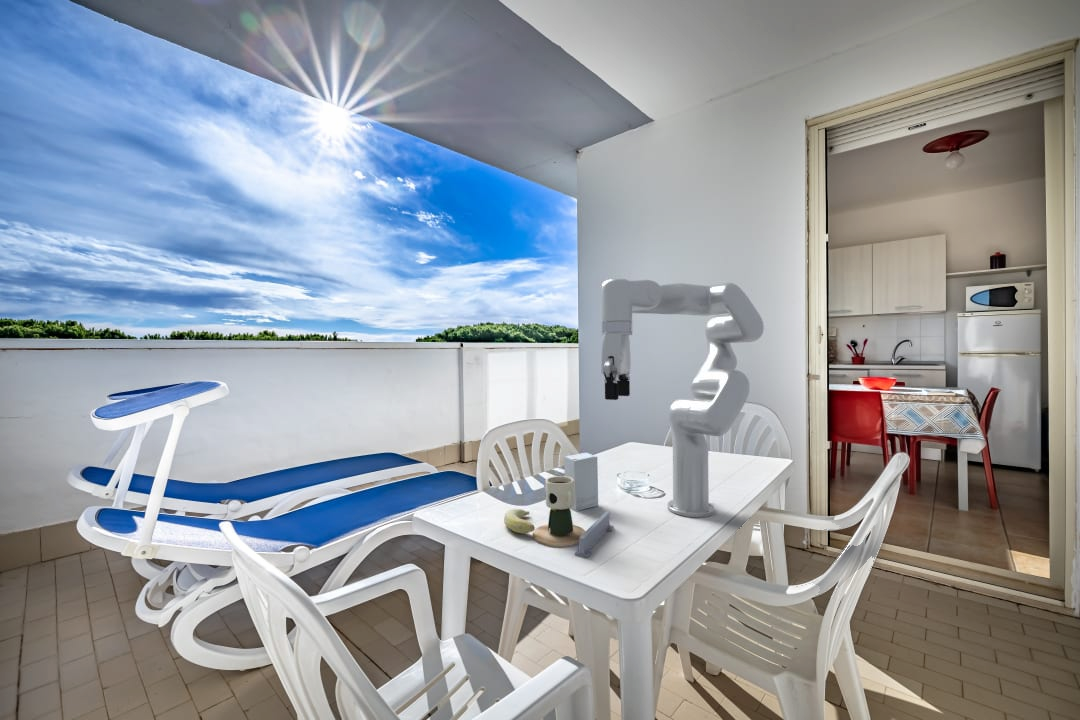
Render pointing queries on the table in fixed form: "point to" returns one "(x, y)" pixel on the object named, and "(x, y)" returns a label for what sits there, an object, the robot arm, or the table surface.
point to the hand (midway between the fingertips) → (617, 397)
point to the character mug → (560, 504)
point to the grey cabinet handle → (593, 535)
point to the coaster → (557, 537)
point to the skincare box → (583, 479)
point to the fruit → (518, 521)
